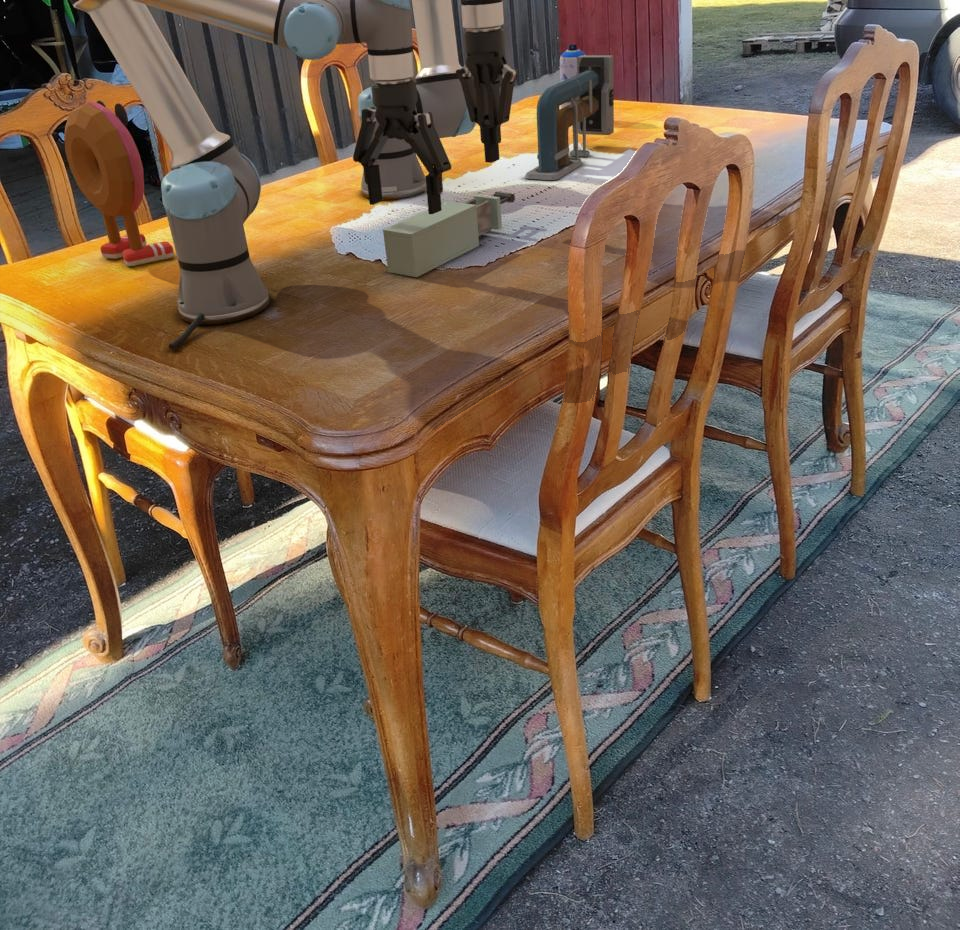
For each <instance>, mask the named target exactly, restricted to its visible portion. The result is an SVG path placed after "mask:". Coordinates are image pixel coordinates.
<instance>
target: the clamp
mask: <svg viewBox="0 0 960 930" xmlns="http://www.w3.org/2000/svg"><path fill="white" fill-rule="evenodd" d="M614 60H615V59H614V55H610V54H609V55H606V54H605V55H602V54H601V55H599V54H597V55H596V54H595V55H593V54H592V55H586V54H585V55H581V56H579V57H577V75H576V76H573V77H571V78H569V79H567V80H565V81H562V82H560V81H559V82H558V83H556V84H554V85H551V86H549V87H547V88H546V89H545V90H544V91H543V93H542V94H541V95H540V96H539V98H538V99H537V105H536V129H537V130H536V131H537V135H536V136H537V155H536V158H537V160H538V166H536V167H534V168H532V169H530V170H528V171H527V172H526V173H525V175H524V178H525V179H527V180H541V181H545V180H546V181H556V180H559V179H561V178H563V177H564V176H566V175H567V174H569V173H570V172H572V171H574V170H576V169H577V168H578V167H580V166H582V165H583V164H584V163H583V161H582V159H581V157H585V158H586V157H587V156H589V155H590V154H591V153H590V152H591V151H589V150H588V149H587V138H586V137H587V135H590V136H591V135H593V136H610V135H612V134H613V133H614V132H615V117H614V116H615V115H614V112H615V109H614V108H615V107H614V105H615V103H614V98H615V94H614V93H615V92H614V91H615V89H614V84H615V83H614V81H615V78H614V77H615V76H614V69H615V68H614V67H615V66H614V64H615V63H614ZM569 102H571V103H572V104H570V105H568V106H566V107H564V108H562V109H561V108H560V107H561V105H562V104H564V103H569ZM570 127H572V149H571V150H570V147H569V143H570V142H569V129H570ZM579 135H582V149H579Z"/></svg>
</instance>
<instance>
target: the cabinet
mask: <svg viewBox="0 0 960 930" xmlns="http://www.w3.org/2000/svg"><path fill="white" fill-rule="evenodd" d="M441 209H442V210H441V211H439V212H437V213H434V214H429V213H428V209H427V210H424V211H422V212H420V213H418V214H415V215H413V216H410V217H408V218H406V219H404V220H401V221H399V222H396V223H395V224H392V225H390V226H388V227H385V228H383V229H382V231H383V232H382V233H383V243H384V250H385V258H386V265H387V272H388V273H391V274H395V275H402V276H407V277H413V278H418V277H420V276H422V275H424V274H426V273H428V272H430V271H432V270H434V269H436V268H438V267H440V266H442V265H444V264H446V263H449V262H450V261H452V260H454V259H456V258H458V257H460V256H462V255H464V254H466V253H468V252H470V251H472V250H474V249H476V248H478V247H480V239H479V237H480V236H478V224H477V211H476V205H473V204H466V203H465V202H457V201H451V200H448V201H446V202H442V203H441Z"/></svg>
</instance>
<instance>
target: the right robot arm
mask: <svg viewBox="0 0 960 930" xmlns="http://www.w3.org/2000/svg"><path fill="white" fill-rule="evenodd" d="M460 4H461V5H460V6H461V24H462V28H463V29H464V30H465V31H464V32H463V48H464V52H465V54H466V58H465V64H464V65H463V66H461V63H460V62H459V54H458V45H457V37H456V30H455V22H454V13H453V5H452V0H411V5H412V11H413V12H412V13H413V20H414V28H415V35H416V42H417V49H418V57H419V64H420V69H419V71H418V72H417V74H416V75H415V82H416V87H417V99H418V100H417V103H416V111H417V113H418V114H423V113H426V112H431V113H432V116H433V122H434V127H435V129H436V131H437V134H438V136H439V138H440V139H445V138H456V137H458V136H464V135H469V134H470V133H472V132H473V130H474V129H475V127H476V124H477V125H478V126H479V133H480V135H479V136H480V142H481V144H483V151H484V162H485V163H488V164H489V163H491V164H492V163H494V162H496V161H499V160H500V146H499V144H501V143H502V128H501V126H502V125H503V124H505V123H508V122H509V121H510V118H511V117H510V116H511V110H512V109H511V108H512V101H513V95H514V85H515V82H516V80H517V77H518V75H519V70H518V69H516V68H514V69H512V67H510V66H509V65H508V61H507V59H506V55H505V50H506V36H505V34H506V33H505V30H504V28H503V27H502V26H503V25H504V24H505V22H504V21H505V19H504V18H505V17H504V3H503V0H460ZM501 79H502V80H501ZM357 104H358V106H357V107H358V114H357V115H358V118H359V121H360V125H361V124H362V110H363V109H366V108H369V107H375V106H374V105H373V100H372V90H371V86H369V87H367V88H365V89H364V90H363V91H361V92H360V94H359V95H358V98H357ZM375 109H376V107H375ZM416 125H417V124H416ZM378 126H379V123H378V122H377V120H376V125H375V129H374V133H373V136H372V140H373V138H374V137H375V135H374V134H375V132H376V130H377V128H378ZM418 128H419V127H418ZM419 129H420V128H419ZM412 134H413V133H412ZM372 140H371V142H372ZM375 162H377V163H374V164H373V165H375V164H378V165H379V170H380V180H381V190H382V199H383V201H384V200H385V201H389V200H390V201H391V200H400V199H406V198H410V197H414V196H417V195H420V194H422V193H424V192H425V191H427V188H426V175H425V173H424V170H423V168H422V165H421V163H420V161H419V158H418V156H417V155H416V153H415V152H414V150H413V149H412V147H411V146H410V144H408V143H406V142H405V140H404V139H403V140H399V139H396V138H392V139H390V138H388V140H387V142H386V143H385V145H384V147H383V149H382V150H381V152H380V154H379V156H378V158H377V159H376V161H375ZM360 192H361V195H362V196H363V197H364V198H367V199H369V193H368V184H366V183H365V178H364V170H363V171H362V177H361V182H360Z"/></svg>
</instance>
